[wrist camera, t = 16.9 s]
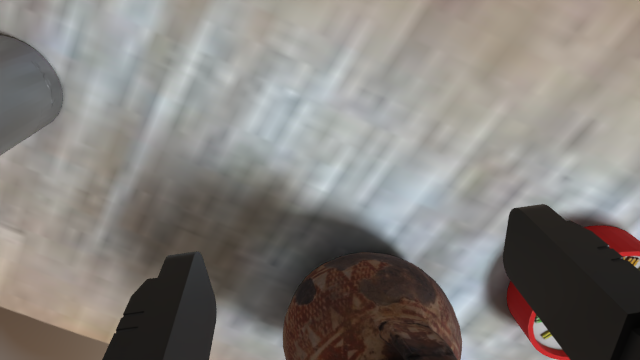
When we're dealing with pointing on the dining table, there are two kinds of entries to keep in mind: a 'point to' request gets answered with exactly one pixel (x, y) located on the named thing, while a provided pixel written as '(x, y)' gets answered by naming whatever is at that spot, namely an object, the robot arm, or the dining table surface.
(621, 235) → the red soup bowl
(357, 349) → the jug
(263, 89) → the dining table surface
